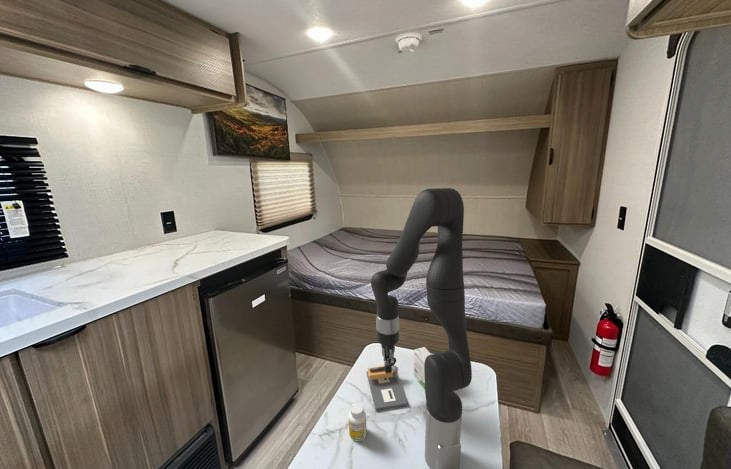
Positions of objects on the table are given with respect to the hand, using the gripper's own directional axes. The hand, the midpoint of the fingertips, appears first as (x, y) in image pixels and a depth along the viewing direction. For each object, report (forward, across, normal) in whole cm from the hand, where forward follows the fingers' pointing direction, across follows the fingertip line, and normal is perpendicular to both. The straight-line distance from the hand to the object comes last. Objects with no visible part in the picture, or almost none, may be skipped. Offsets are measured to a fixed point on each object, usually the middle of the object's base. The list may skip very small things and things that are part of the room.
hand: (388, 371), depth 99 cm
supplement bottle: (+11, -12, +12) cm, 20 cm away
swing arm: (+8, +8, 0) cm, 12 cm away
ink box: (+11, +5, -16) cm, 20 cm away
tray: (+11, +4, 0) cm, 12 cm away
